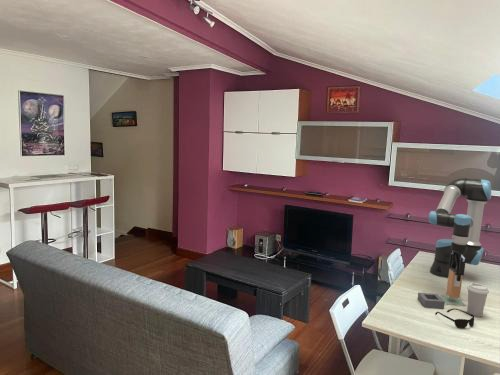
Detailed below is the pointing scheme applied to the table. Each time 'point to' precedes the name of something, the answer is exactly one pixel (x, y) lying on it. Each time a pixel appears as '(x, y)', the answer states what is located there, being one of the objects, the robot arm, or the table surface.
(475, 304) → the coffee cup
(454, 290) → the plug
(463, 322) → the sunglasses
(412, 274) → the table surface
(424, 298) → the grey square frame
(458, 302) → the pad
